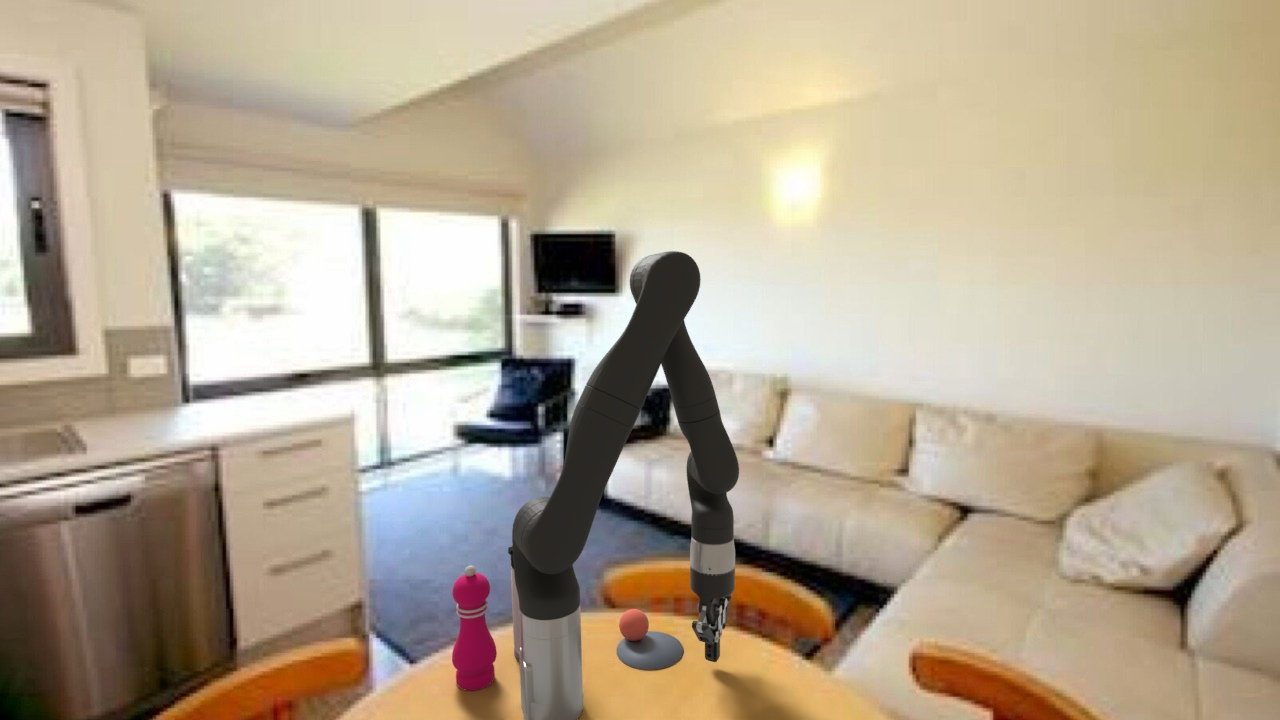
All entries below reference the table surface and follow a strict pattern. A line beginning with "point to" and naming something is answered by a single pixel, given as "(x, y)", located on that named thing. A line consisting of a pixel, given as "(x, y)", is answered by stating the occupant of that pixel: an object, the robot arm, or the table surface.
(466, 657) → the pepper mill
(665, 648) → the disc
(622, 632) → the ball
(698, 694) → the table surface
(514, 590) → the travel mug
